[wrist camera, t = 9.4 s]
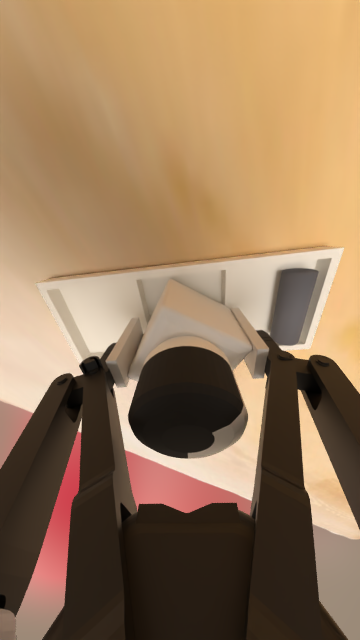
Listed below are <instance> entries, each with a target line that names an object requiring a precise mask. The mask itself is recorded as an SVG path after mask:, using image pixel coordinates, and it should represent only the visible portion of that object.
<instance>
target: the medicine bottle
mask: <svg viewBox="0 0 360 640" xmlns="http://www.w3.org/2000/svg"><path fill="white" fill-rule="evenodd" d="M251 350H252V345H251V343H250V341H249V340H248V338H247V337H246V335H245V333H244V332H243V330H242V328H241V327H240V325H239V324H238V322H237V320H236V319H235V317H234V316H233V314H232V312H231V311H230V309H229V308H228V307H227V306H225V305H223V304H221V303H219V302H217V301H215V300H213V299H211V298H209V297H207V296H205V295H203V294H201V293H199V292H197V291H195V290H193V289H191V288H189V287H187V286H185V285H183V284H181V283H179V282H177V281H175V280H173V279H170V280H169V281H168V282H167V284H166V286H165V289H164V291H163V293H162V295H161V297H160V299H159V301H158V304H157V306H156V308H155V310H154V312H153V314H152V316H151V319H150V321H149V323H148V325H147V327H146V329H145V332H144V334H143V337H142V339H141V342H140V344H139V347H138V349H137V352H136V354H135V357H134V359H133V362H132V364H131V367H130V369H129V372H128V377H129V378H130V379H132V380H135V381H138V383H137V387H136V390H135V393H134V397H133V400H132V403H131V406H130V410H129V414H128V420H129V424H130V426H131V429H132V431H133V433H134V435H135V436H136V438H137V439H138V440H139V441H140V442H141V443H143V444H144V445H146V446H147V447H149V448H151V449H153V450H155V451H157V452H159V453H161V454H164V455H167V456H171V457H176V458H201V457H207V456H210V455H214V454H216V453H219V452H221V451H222V450H224V449H226V448H228V447H230V446H231V445H233V444H234V443H236V442H237V441H238V440H239V439H240V437H241V436H242V434H243V432H244V430H245V428H246V425H247V421H248V414H247V410H246V407H245V404H244V401H243V399H242V396H241V393H240V390H239V388H238V385H237V382H236V379H235V376H234V374H233V370H234V369H235V368H236V367H237V366H238V365H239V363H240V362H241V361H242V360H243V359H244V358H245V357H246V356H247V355H248V354H249V353H250V351H251Z"/></svg>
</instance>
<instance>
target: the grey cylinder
mask: <svg viewBox="0 0 360 640" xmlns="http://www.w3.org/2000/svg"><path fill="white" fill-rule="evenodd" d="M318 273H319V271H317V270H314V269H308V268H291V269H285V270H282V271H281V277H280V282H279V288H278V293H277V299H276V304H275V310H274V315H273V321H272V327H271V332H270V337H271V338H272V339H273V341H275V342H276V343H278V344H281V345H286V346H292V345H296V344H298V342H299V339H300V336H301V332H302V329H303V325H304V322H305V318H306V315H307V311H308V308H309V304H310V301H311V297H312V294H313V290H314V287H315V283H316V280H317V277H318Z"/></svg>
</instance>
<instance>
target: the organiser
mask: <svg viewBox="0 0 360 640" xmlns="http://www.w3.org/2000/svg"><path fill="white" fill-rule="evenodd" d="M343 250H344V247H332V246H321V247H312V248H304V249H295V250H287V251H279V252H270V253H262V254H253V255H245V256H236V257H228V258H219V259H211V260H202V261H194V262H185V263H177V264H168V265H160V266H151V267H143V268H134V269H126V270H117V271H109V272H100V273H92V274H83V275H75V276H66V277H58V278H50V279H47V280H44V281H41V282H38V283H35V284H36V286H37V288H38V290H39V291H40V293H41V295H42V297H43V299H44V301H45V302H46V304H47V306H48V308H49V310H50V311H51V313H52V315H53V317H54V319H55V321H56V322H57V324H58V326H59V328H60V330H61V332H62V333H63V335H64V337H65V339H66V341H67V342H68V344H69V346H70V348H71V350H72V352H73V353H74V355H75V357H76V359H77V361H78V363H79V364H80V363H81V362H82V361H83V360H85V359H86V358H88V357H91V356H98V357H99V359H100V358H101V357H102V355H103V354H104V352H105V351H106V349H107V348H108V346H110V345H111V344H112V343H117V341H118V340H119V338H120V337H121V335H122V333H123V332H124V330H125V328H126V327H127V325H128V324H129V322H130V320H131V319H132V318H136V317H139V319H140V323H141V327H142V331H143V334H144V332H145V329H146V327H147V325H148V323H149V321H150V319H151V316H152V314H153V312H154V310H155V308H156V306H157V304H158V301H159V299H160V297H161V295H162V293H163V291H164V289H165V286H166V284H167V282H168V281H169V280H170V279H173V280H175V281H177V282H179V283H181V284H183V285H185V286H187V287H189V288H191V289H193V290H195V291H197V292H199V293H201V294H203V295H205V296H207V297H209V298H211V299H213V300H215V301H217V302H219V303H221V304H223V305H225V306H227V307H228V308H229V309H230V311H231V308H239V309H240V310H241V312H242V313H243V314H244V316H245V317H246V318H247V320H248V321H249V322H250V324H251V325H252V326H253V328H254V329H255V330H263V331H265V332H267V333H268V334H269V335H270V332H271V327H272V321H273V315H274V310H275V304H276V299H277V293H278V288H279V282H280V277H281V271H282V270H285V269H291V268H308V269H314V270H317V271H319V273H318V277H317V280H316V283H315V287H314V290H313V294H312V297H311V301H310V304H309V308H308V311H307V315H306V318H305V322H304V325H303V329H302V332H301V336H300V339H299V342H298V344H296V345H292V346H286V345H281V344H278V343H276V342H275V343H276V344H277V345H278V346H279V347H280V348H281V350H282V351H286V350H299V349H310V347H311V344H312V342H313V339H314V336H315V333H316V330H317V327H318V324H319V321H320V318H321V315H322V312H323V309H324V306H325V303H326V300H327V297H328V294H329V291H330V288H331V285H332V282H333V279H334V276H335V274H336V271H337V268H338V265H339V262H340V259H341V256H342V253H343Z"/></svg>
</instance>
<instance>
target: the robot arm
mask: <svg viewBox="0 0 360 640" xmlns="http://www.w3.org/2000/svg"><path fill="white" fill-rule="evenodd" d="M231 312H232V314H233V316H234V317H235V319H236V320H237V322H238V324H239V325H240V327H241V328H242V330H243V332H244V333H245V335H246V337H247V338H248V340H249V341H250V343H251V345H252V350H251V351H250V353H249V354H248V355H247V356H246V357H245V358H244V361H245V363H246V365H247V367H248V369H249V371H250V373H251V375H252V378H253V379H256V378H264V374H265V373H266V375H267V382H266V387H265V388H266V391H265V400H264V408H263V416H262V425H261V433H260V442H259V450H258V459H257V467H256V476H255V484H254V492H253V498H252V505H251V512H250V515H248V514H246V513H244V512H242V511H240V510H238V507H237V503H212V504H209V505H206V506H204V507H202V508H199V509H197V510H195V511H192V512H190V513H184V512H181V511H179V510H176V509H174V508H171V507H169V506H166V505H164V504H139V507H138V512H137V507H136V504H135V501H134V497H133V494H132V490H131V484H130V478H129V473H128V467H127V461H126V455H125V450H124V444H123V438H122V432H121V427H120V421H119V415H118V409H117V404H116V398H115V392H114V389H113V385H114V383H115V384H116V386H117V387H127V384H128V382H129V379H130V378H129V377H128V372H129V369H130V367H131V364H132V362H133V359H134V357H135V354H136V352H137V349H138V347H139V344H140V342H141V339H142V337H143V331H142V327H141V323H140V319H139V317H136V318H132V319H131V320H130V322H129V324H128V325H127V327H126V328H125V330H124V332H123V333H122V335H121V337H120V338H119V340H118V341H117V343H112V344H111V345H110V346H108V348H107V349H106V351H105V352H104V354H103V355H102V357H101V358H100V359H99V357H98V356H91V357H88V358H86V359H85V360H83V361H82V362H81V363H80V365H79V367H80V369H81V370H82V372H83V375H80V376H77V377H73V376H72V374H70V373H67V374H63V375H61V376H59V377H57V378H56V379H55V380H54V381H53V382H52V383H51V385H50V387H49V388H48V390H47V392H46V393H45V395H44V397H43V398H42V400H41V402H40V404H39V405H38V407H37V409H36V410H35V412H34V414H33V415H32V417H31V419H30V420H29V422H28V424H27V426H26V427H25V429H24V430H23V432H22V434H21V436H20V437H19V439H18V441H17V442H16V444H15V446H14V447H13V449H12V451H11V452H10V454H9V456H8V457H7V459H6V461H5V462H4V464H3V466H2V468H1V469H0V640H17V636H16V634H15V632H16V619H15V617H16V615H17V612H18V610H19V608H20V606H21V603H22V601H23V598H24V595H25V593H26V590H27V588H28V585H29V583H30V580H31V578H32V574H33V572H34V569H35V566H36V563H37V560H38V557H39V554H40V551H41V548H42V545H43V541H44V538H45V535H46V531H47V528H48V525H49V522H50V519H51V515H52V512H53V509H54V506H55V502H56V499H57V496H58V493H59V490H60V486H61V483H62V480H63V476H64V473H65V470H66V467H67V464H68V460H69V457H70V454H71V450H72V447H73V444H74V441H75V438H76V434H77V431H78V428H79V425H80V422H81V418H82V432H81V456H80V481H79V482H80V483H79V491H78V494H77V495H76V496H75V497H74V499H73V502H72V507H71V519H70V534H69V547H68V563H67V576H66V577H67V578H66V591H65V606H64V607H63V609H62V610H61V612H60V613H59V615H58V616H57V618H56V620H55V621H54V622H53V624H52V625H51V627H50V628H49V630H48V631H47V633H46V634H45V636H44V637H43V639H42V640H348V639H347V637H346V636H345V635H344V633H343V632H342V631H341V629H340V628H339V627H338V625H337V624H336V623H335V621H334V620H333V619H332V617H331V616H330V615H329V613H328V612H327V611H326V609H325V608H324V606H323V605H322V604H321V602H320V601H319V595H318V584H317V572H316V561H315V549H314V538H313V527H312V515H311V505H310V499H309V495H308V493H307V491H306V490H305V487H304V478H303V463H302V449H301V434H300V420H299V406H298V391H297V389H299V390H301V392H302V394H303V397H304V399H305V401H306V404H307V406H308V409H309V411H310V413H311V416H312V418H313V420H314V423H315V425H316V427H317V430H318V432H319V435H320V437H321V439H322V442H323V444H324V446H325V449H326V451H327V453H328V456H329V458H330V461H331V463H332V465H333V468H334V470H335V472H336V475H337V477H338V479H339V482H340V484H341V487H342V489H343V491H344V494H345V496H346V498H347V501H348V503H349V505H350V508H351V510H352V513H353V515H354V517H355V520H356V522H357V524H358V527H359V529H360V394H359V392H358V391H357V390H356V389H355V387H354V386H353V385H352V383H351V382H350V381H349V379H348V378H347V377H346V376H345V374H344V373H343V372H342V370H341V369H340V368H339V366H338V365H337V364H336V363H335V362H334V361H333V360H332V359H330V358H328V357H325V356H321V355H312V356H311V357H310V358H309V360H303V359H297V358H295V357H294V356H293V355H292V354H290V353H288V352H286V351H282V350H281V348H280V347H279V346H278V345H277V344H276V343H275V341H273V339H272V338H271V337H270V335H269V334H268V333H267V332H265V331H263V330H255V329H254V328H253V326H252V325H251V324H250V322H249V321H248V320H247V318H246V317H245V316H244V314H243V313H242V312H241V310H240V309H239V308H231Z"/></svg>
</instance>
